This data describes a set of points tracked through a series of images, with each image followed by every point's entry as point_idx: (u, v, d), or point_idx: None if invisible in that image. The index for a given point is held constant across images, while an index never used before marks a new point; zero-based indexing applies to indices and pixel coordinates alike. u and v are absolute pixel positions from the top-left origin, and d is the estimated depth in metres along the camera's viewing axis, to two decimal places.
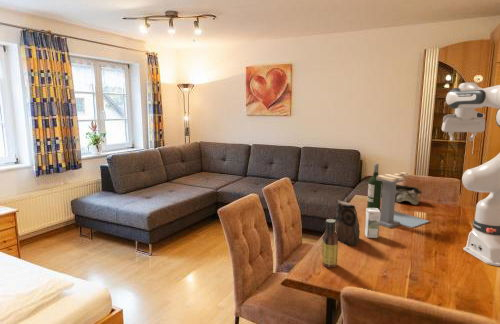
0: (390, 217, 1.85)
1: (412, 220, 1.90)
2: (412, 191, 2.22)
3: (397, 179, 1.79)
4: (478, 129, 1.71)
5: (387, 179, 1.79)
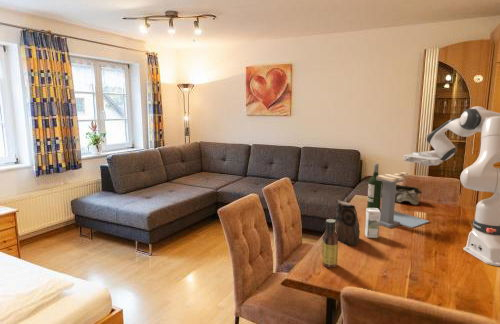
0: (390, 217, 1.85)
1: (412, 220, 1.90)
2: (412, 191, 2.22)
3: (397, 179, 1.79)
4: (409, 161, 2.03)
5: (387, 179, 1.79)
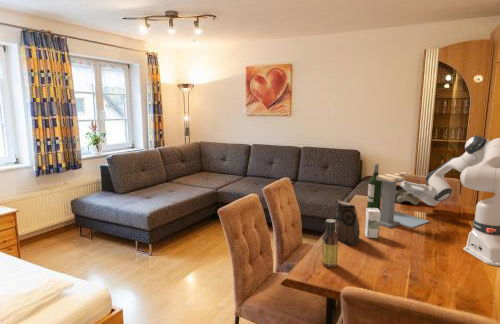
0: (390, 217, 1.85)
1: (412, 220, 1.90)
2: None
3: (397, 179, 1.79)
4: (405, 187, 2.05)
5: (387, 179, 1.79)
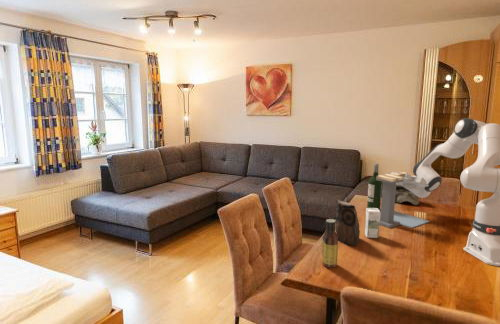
0: (390, 217, 1.85)
1: (412, 220, 1.90)
2: None
3: (397, 179, 1.79)
4: None
5: (387, 179, 1.79)
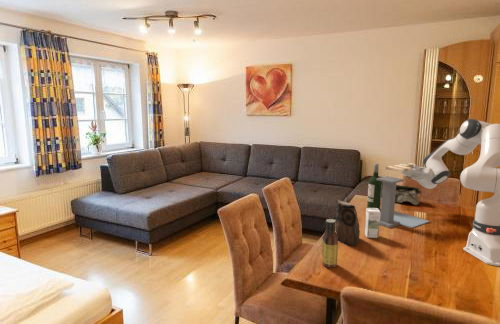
0: (390, 217, 1.85)
1: (412, 220, 1.90)
2: (413, 191, 2.22)
3: (406, 169, 1.83)
4: None
5: (396, 169, 1.83)
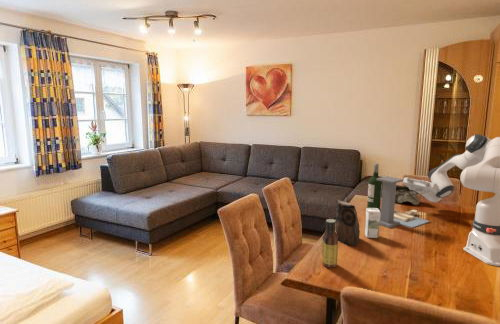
0: (390, 217, 1.85)
1: (412, 220, 1.90)
2: (413, 191, 2.22)
3: (409, 219, 1.91)
4: (407, 184, 2.06)
5: (399, 219, 1.91)
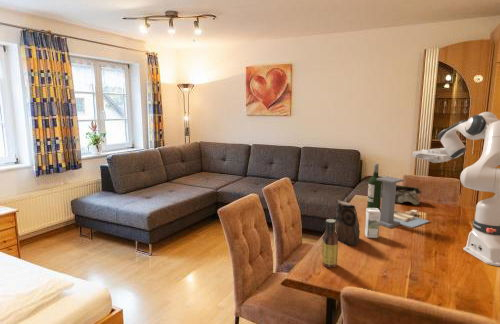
0: (390, 217, 1.85)
1: (412, 220, 1.90)
2: (413, 191, 2.21)
3: (409, 219, 1.91)
4: None
5: (399, 219, 1.91)
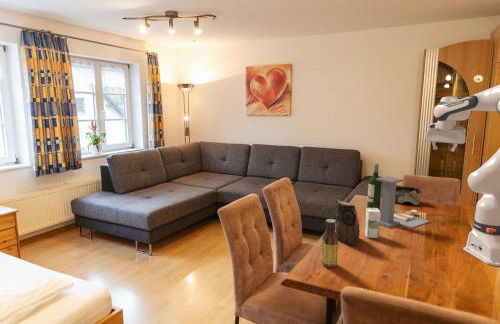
0: (390, 217, 1.85)
1: (412, 220, 1.90)
2: (413, 192, 2.21)
3: (409, 219, 1.91)
4: None
5: (399, 219, 1.91)
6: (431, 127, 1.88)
